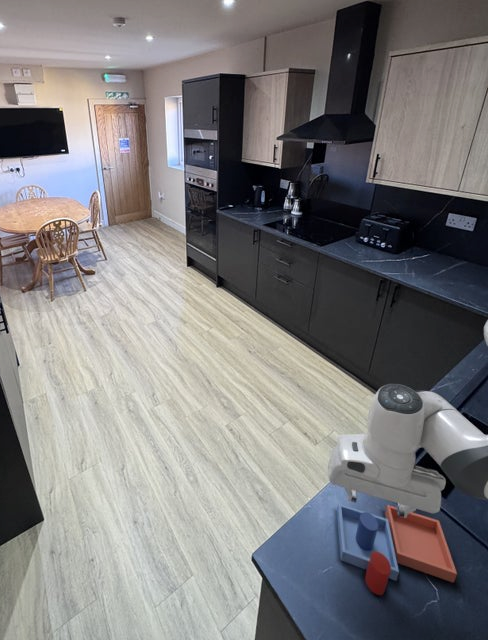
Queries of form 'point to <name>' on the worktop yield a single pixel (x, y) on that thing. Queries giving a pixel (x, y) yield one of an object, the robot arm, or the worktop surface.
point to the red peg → (377, 573)
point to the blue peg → (366, 531)
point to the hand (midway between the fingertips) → (375, 506)
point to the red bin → (420, 544)
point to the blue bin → (352, 550)
